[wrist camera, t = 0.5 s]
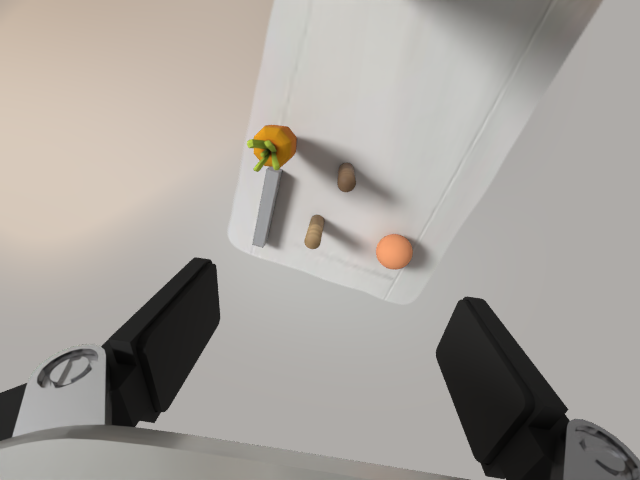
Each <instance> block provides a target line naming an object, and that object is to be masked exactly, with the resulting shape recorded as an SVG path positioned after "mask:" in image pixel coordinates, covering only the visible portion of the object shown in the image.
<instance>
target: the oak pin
mask: <svg viewBox="0 0 640 480" xmlns="http://www.w3.org/2000/svg"><path fill="white" fill-rule="evenodd" d="M323 225H324V219H323V217H322V216H320V215H314V216H313V217H312V218H311V221H310V224H309V227H308V231H307V234H306V237H305V241H304V242H305V245H306V246H307V247H308V248H310V249H316V248H318V247H319V245H320V242H321V236H322V231H323Z"/></svg>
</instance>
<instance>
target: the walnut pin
mask: <svg viewBox="0 0 640 480" xmlns="http://www.w3.org/2000/svg"><path fill="white" fill-rule="evenodd" d="M355 185H356V181H355V174H354V168H353V166H352V165H351V164H350V163H343V164H342V165H341V166H340V167H339V173H338V187H339V189H340V190H341V191H343V192H350V191H352V190H353V189H354V187H355Z"/></svg>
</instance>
